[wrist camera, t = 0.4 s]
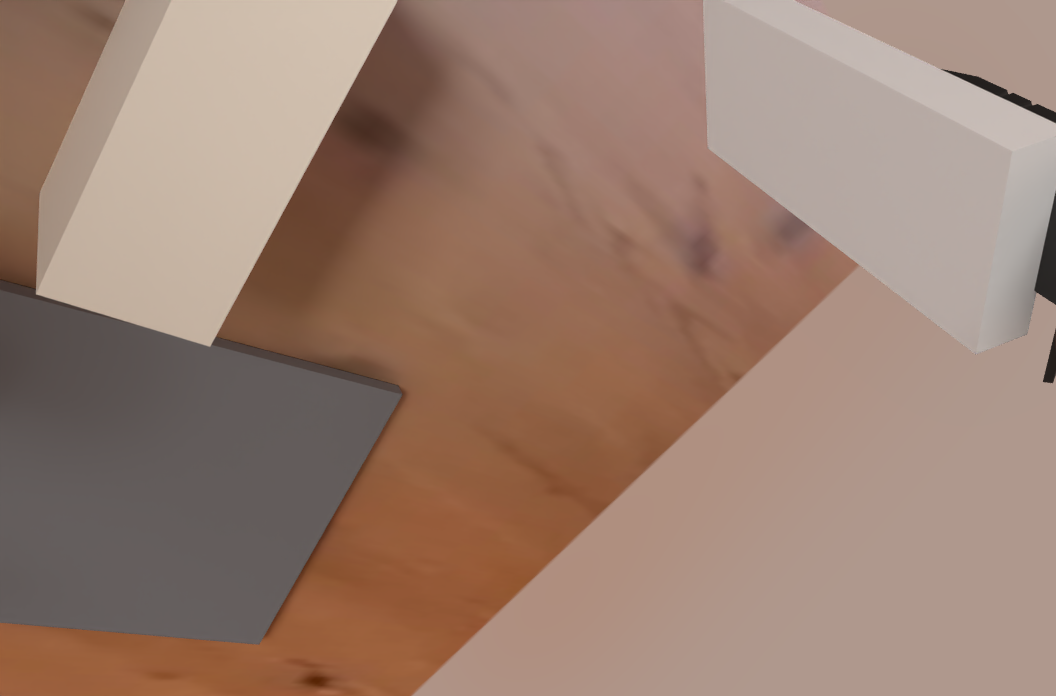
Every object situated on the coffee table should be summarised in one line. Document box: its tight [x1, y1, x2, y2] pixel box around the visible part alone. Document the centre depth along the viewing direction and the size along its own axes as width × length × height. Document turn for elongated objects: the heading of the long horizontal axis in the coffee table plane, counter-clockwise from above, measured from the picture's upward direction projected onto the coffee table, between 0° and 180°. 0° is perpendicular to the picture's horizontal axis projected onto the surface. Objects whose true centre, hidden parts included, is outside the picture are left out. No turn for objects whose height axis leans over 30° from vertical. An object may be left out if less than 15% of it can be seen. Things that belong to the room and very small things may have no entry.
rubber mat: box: [0, 280, 402, 644], centre depth 46 cm, size 24×18×1 cm
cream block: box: [36, 0, 398, 347], centre depth 35 cm, size 6×14×8 cm, turn 144°
